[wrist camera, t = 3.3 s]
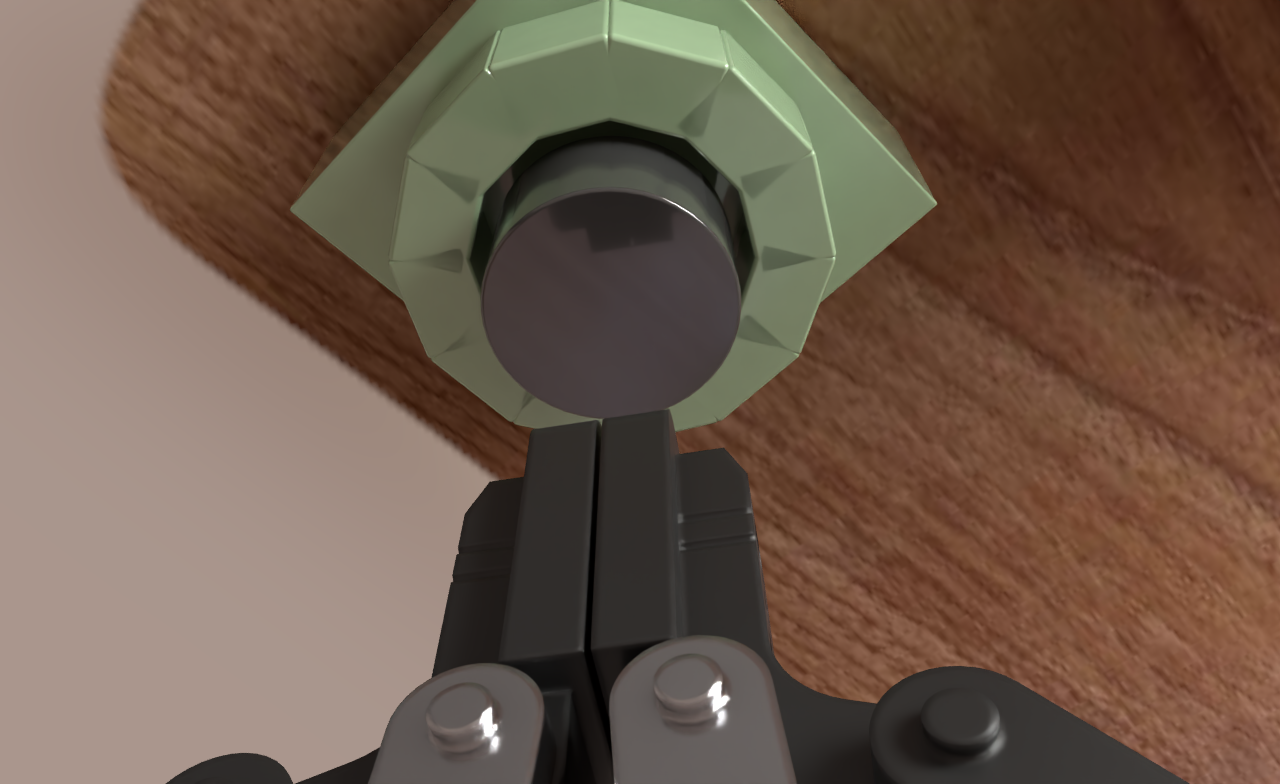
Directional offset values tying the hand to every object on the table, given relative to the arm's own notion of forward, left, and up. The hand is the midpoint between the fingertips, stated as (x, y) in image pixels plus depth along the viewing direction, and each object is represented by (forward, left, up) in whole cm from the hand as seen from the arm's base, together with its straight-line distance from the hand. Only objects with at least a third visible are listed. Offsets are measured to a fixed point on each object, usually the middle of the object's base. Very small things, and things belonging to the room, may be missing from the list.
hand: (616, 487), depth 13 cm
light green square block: (0, 0, -11) cm, 11 cm away
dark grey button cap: (0, 0, -6) cm, 6 cm away
